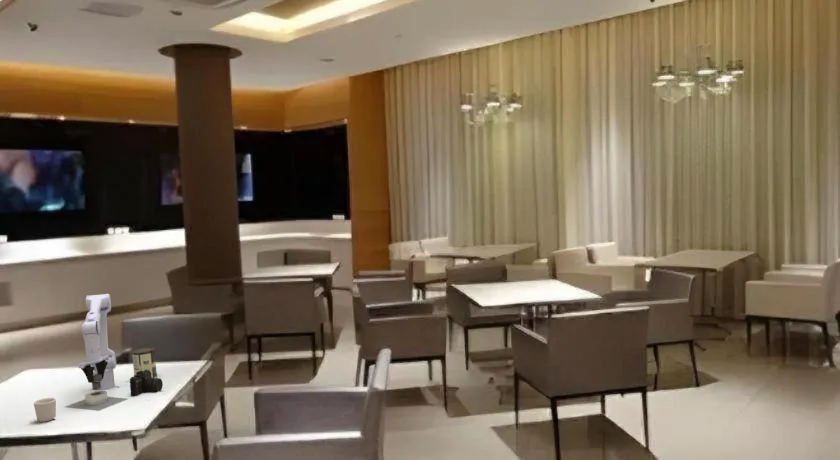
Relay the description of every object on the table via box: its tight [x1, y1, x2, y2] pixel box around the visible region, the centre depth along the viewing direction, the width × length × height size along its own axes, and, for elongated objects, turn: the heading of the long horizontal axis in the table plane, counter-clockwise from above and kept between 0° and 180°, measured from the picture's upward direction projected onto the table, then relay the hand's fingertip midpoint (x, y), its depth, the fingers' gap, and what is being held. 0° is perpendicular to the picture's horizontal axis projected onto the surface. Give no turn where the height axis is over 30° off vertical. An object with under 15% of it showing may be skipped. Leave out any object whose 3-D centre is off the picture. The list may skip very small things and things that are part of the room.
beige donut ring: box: [84, 390, 108, 406], centre depth 304 cm, size 8×8×4 cm
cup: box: [33, 397, 57, 423], centre depth 289 cm, size 11×8×8 cm
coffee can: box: [131, 347, 158, 378], centre depth 342 cm, size 10×10×14 cm
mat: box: [64, 396, 128, 412], centre depth 304 cm, size 20×16×1 cm
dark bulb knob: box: [91, 374, 102, 391], centre depth 304 cm, size 5×5×6 cm
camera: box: [129, 369, 164, 397], centre depth 317 cm, size 14×11×10 cm
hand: (95, 380), depth 304 cm, fingers closed on dark bulb knob, 5 cm apart
